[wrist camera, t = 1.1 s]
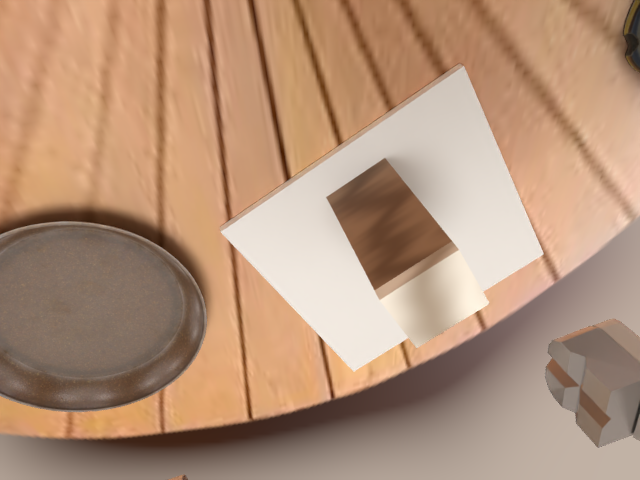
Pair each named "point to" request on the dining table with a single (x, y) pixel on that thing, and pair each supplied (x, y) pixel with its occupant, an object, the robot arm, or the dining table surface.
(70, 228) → the plant saucer
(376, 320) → the white mat
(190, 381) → the dining table surface
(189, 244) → the dining table surface
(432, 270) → the walnut block
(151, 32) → the dining table surface
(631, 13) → the apothecary jar
